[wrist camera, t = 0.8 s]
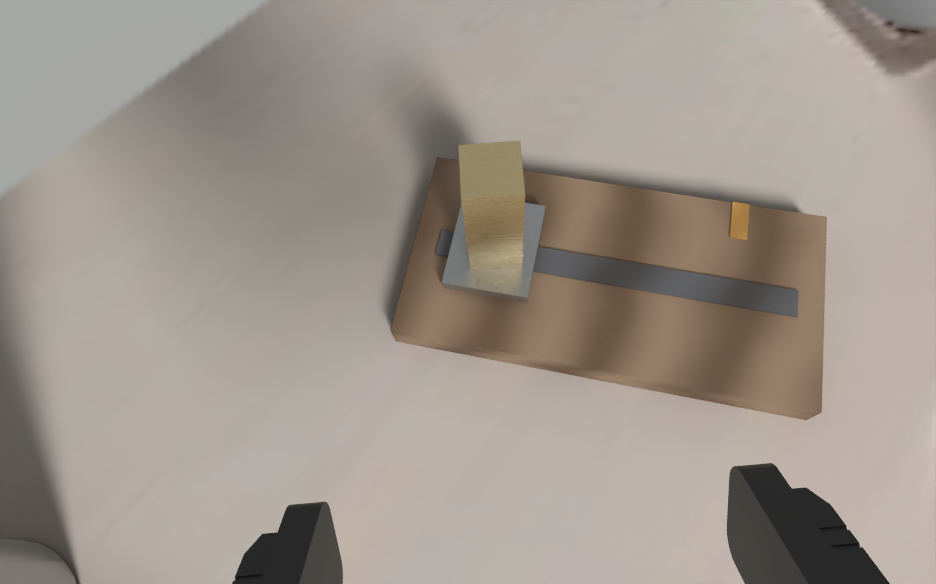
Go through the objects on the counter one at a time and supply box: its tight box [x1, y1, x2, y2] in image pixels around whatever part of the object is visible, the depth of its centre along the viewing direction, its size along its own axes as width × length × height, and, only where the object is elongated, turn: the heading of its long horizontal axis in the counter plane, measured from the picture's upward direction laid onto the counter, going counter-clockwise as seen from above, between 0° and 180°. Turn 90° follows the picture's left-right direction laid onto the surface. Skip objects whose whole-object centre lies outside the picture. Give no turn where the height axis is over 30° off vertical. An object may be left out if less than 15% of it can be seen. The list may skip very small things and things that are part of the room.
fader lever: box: [442, 141, 546, 303], centre depth 36 cm, size 5×6×9 cm
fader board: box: [391, 157, 827, 420], centre depth 41 cm, size 24×12×2 cm, turn 78°
